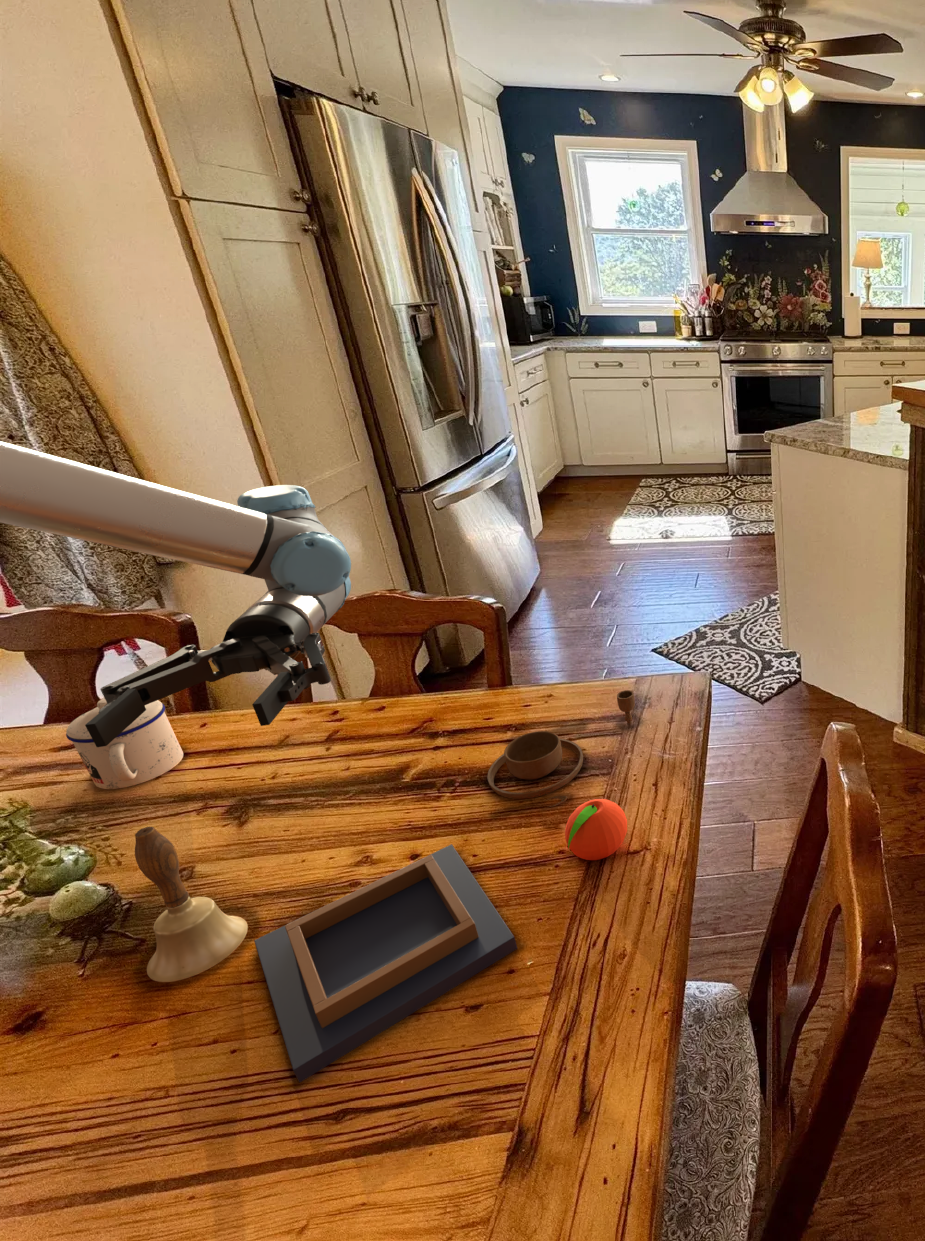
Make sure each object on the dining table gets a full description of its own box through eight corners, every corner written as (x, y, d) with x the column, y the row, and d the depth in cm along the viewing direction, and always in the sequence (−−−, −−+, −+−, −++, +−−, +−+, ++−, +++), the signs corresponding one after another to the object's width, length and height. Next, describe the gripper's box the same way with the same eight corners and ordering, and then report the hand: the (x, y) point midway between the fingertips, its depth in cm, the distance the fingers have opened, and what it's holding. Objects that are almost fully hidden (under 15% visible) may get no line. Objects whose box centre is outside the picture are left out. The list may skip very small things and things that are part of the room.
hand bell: (250, 904, 77) (197, 788, 71) (260, 954, 72) (203, 833, 65) (144, 950, 72) (77, 829, 65) (146, 1007, 66) (72, 882, 60)
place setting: (494, 746, 103) (486, 712, 101) (638, 718, 110) (633, 686, 108) (484, 827, 88) (475, 790, 86) (650, 788, 96) (646, 753, 93)
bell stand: (262, 957, 71) (247, 925, 70) (456, 859, 84) (447, 830, 82) (302, 1088, 60) (285, 1055, 58) (518, 954, 73) (510, 922, 71)
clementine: (598, 887, 81) (590, 840, 78) (549, 870, 83) (539, 823, 80) (642, 838, 88) (636, 793, 85) (596, 824, 89) (588, 779, 87)
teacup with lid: (99, 767, 96) (62, 695, 92) (189, 743, 102) (158, 673, 97) (85, 817, 88) (43, 741, 83) (184, 787, 93) (150, 714, 89)
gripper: (395, 642, 95) (335, 735, 77) (166, 667, 88) (39, 776, 70) (380, 592, 92) (314, 676, 74) (142, 614, 85) (2, 712, 67)
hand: (180, 725), depth 72 cm, fingers open, 13 cm apart
